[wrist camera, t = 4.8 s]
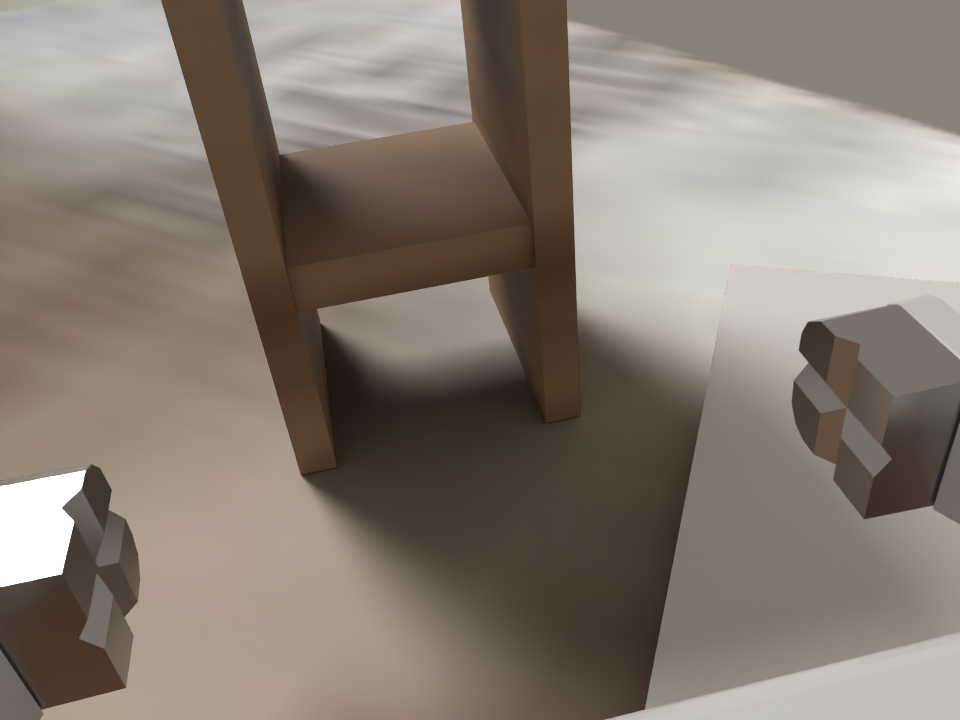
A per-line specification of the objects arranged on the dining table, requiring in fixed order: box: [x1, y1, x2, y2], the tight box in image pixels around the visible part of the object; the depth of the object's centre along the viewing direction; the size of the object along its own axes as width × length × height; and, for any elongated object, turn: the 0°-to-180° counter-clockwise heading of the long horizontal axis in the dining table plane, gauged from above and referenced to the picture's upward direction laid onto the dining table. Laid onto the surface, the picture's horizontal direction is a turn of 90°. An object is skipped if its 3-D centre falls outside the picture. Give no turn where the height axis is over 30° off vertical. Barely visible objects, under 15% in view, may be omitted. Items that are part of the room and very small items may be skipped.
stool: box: [161, 0, 580, 475], centre depth 19 cm, size 7×7×12 cm
